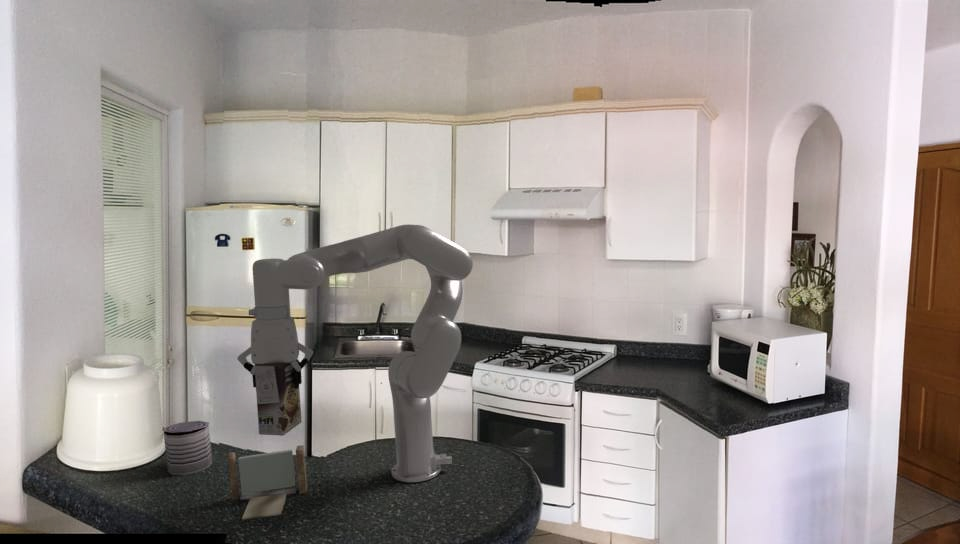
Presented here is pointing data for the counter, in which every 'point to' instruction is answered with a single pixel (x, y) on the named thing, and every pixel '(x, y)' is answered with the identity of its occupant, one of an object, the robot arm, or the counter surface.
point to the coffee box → (277, 399)
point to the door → (266, 471)
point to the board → (264, 506)
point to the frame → (302, 489)
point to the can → (187, 447)
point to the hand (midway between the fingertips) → (278, 388)
